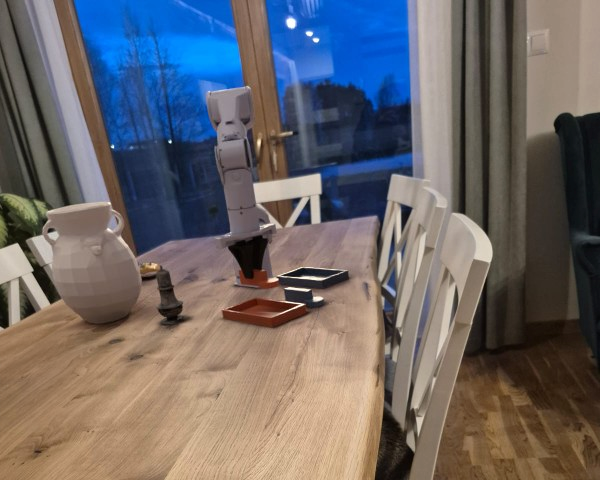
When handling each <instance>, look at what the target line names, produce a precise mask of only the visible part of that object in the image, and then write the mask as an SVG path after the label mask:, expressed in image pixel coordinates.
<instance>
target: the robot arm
mask: <svg viewBox="0 0 600 480" xmlns="http://www.w3.org/2000/svg"><path fill="white" fill-rule="evenodd" d="M205 102H206V103H205V104H206V107H207V114H208V119H209V121H210V123H211V126H212V128H213V129H214V132H216V136H217V139H216V140H217V145H215V146H214V156H215V163H216V167H217V170H218V173H219V176H220V182H221V185H222V186H223V192H224V193H223V194H224V198H225V204H226V209H227V216H228V221H229V230H230V232H228V233H226V234H223V235H221V236H220V235H219V236H218V237H214V238H213V240H214V245H215V249H220V250H223V249H226V248H227V249H228V251H229V252H230V253H231V254H232V264H233V271H234V275H235V281H236V282H234V286H239V287H247V288H255V289H260V287H259V286H251V285H243V284H241V282H240V276H239V271H238V270H240V269H241V270H242V272H243V275H244V277H245V278H246V279H253V278H254V271H253V269H257V270H267V276H268V278H275V276H273V268H272V263H271V255H270V249H269V248H270V247H269V246H270V245H272V243H273V241H274V240H273V235H276V234H277V226H276V223H271V220H270V216H269V212H268V211H267V210H266V209H264V208H263V207H262V206H260V205H258V204H257V201H256V200H257V199H256V193H255V188H254V180H253V174H252V171H253V159H252V152H251V151H252V150H251V145H250V142H249V140H248V137H247V135H248V131H249V130H250V129H252V128H254V127H255V122H256V121H255V108H254V101H253V95H252V89H251V87H249V85H245V86H243V87H235V88H229V89H221V90H214V91H213V90H212V91H211V90H208V91H207V92H206V94H205Z"/></svg>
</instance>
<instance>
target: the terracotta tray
mask: <svg viewBox="0 0 600 480" xmlns="http://www.w3.org/2000/svg"><path fill="white" fill-rule="evenodd" d="M221 313H222V318H223V319H224V320H229V321H235V322H241V323H245V324H252V325H257V326H262V327H266V328H267V327H268V328H275V327H277V326H279V325H282V324H284V323H286V322H289V321H291V320H293V319H296V318H299V317H301V316H303V315H305V314H307V307H306V304H301V303H293V302H286V300H279V299H278V300H277V299H271V298H263V297H256V296H255V297H253V298H250V299H247V300H244V301H242V302H239V303H237V304H234V305H231V306H228V307H226V308H223V309H221Z"/></svg>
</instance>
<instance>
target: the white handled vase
mask: <svg viewBox="0 0 600 480" xmlns="http://www.w3.org/2000/svg"><path fill="white" fill-rule="evenodd" d="M45 215H46V218H47V221H46V223H45V224H44V225H43V227H42V236H43V238H44V240H45V241H46V242H47V243H48V245H50V246H51V251H52V260H51V270H52V278H53V282H54V285H55V288H56V290H57V293H58V295H59V296H60V298H61V300H62V301H63V302H64V303H65V305H66V306H67V307H68V308H69V309H70V310H71V311H73V312H74V313H75V314H76V315H77V316H79V317H80V318H82V319H83V320H85V321H86V322H88V323H89V324H105V323H111V322H114V321H118V320H120V319H123V318H126V317H127V316H128V315H129V313H131V310H132V309H133V307H134V306H135V305H136V303H137V301H138V300H139V297H140V295H141V292H142V284H143V282H142V281H143V279H142V274H141V273H140V268H139V266H138V263H137V262H138V260H137V259H136V258H137V257H136V256H135V254H134V252H133V251H132V250H131V248H130V247H129V244H127V243H126V241H125V240H124V239H123V237H122V236H121V234H122V233H123V230H124V228H125V219H124V217H123V216H122V214H121V213H120V212H118V211H116V210H114V209H112V203H111V202H110V201H94V202H84V203H78V204H77V203H75V204H71V205H66V206H65V205H64V206H61V207H58V208H54V209H50V210H48V211H46V213H45ZM113 217H115V218H117V220H118V224H117V226H116V227H115V228H114V229H110V228H109V226H110V221H111V219H112V218H113ZM49 229H54V230H55V231H56V233H57V235H58V236H57V238H56V239H53V238H50V236H49V234H48V231H49Z"/></svg>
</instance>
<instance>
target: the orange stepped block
mask: <svg viewBox="0 0 600 480" xmlns="http://www.w3.org/2000/svg"><path fill="white" fill-rule="evenodd" d="M238 271H239V276H240V282H241V284H243V285H251V286H259V289H260V290H271V289H276V288H278V287H279V286H280V284H279V279H278V278H276V277H274V278H268V276H267V270H257V269H253V271H254V278H253V279H246V278H245V277H244V275H243V272H242V270H241V269H240V270H238Z"/></svg>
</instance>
